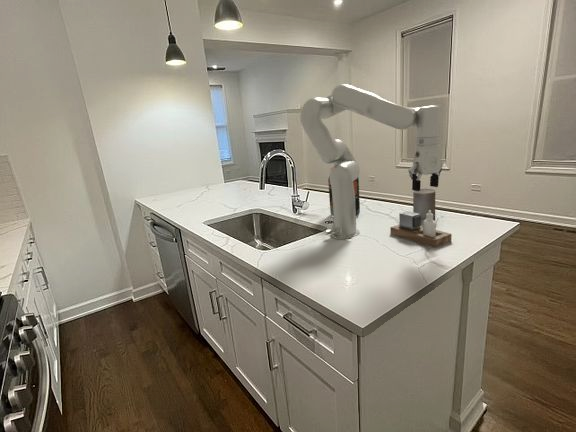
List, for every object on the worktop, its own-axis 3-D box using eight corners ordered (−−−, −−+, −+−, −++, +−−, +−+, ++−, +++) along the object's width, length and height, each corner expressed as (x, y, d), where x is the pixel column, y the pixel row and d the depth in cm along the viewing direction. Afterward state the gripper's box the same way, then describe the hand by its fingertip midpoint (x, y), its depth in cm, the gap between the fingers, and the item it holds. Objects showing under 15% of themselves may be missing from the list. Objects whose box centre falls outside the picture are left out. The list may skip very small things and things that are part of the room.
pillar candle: (430, 215, 156) (430, 185, 152) (438, 220, 146) (439, 188, 142) (410, 217, 156) (409, 187, 152) (417, 222, 147) (417, 191, 143)
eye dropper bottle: (435, 238, 123) (436, 208, 120) (435, 243, 118) (436, 212, 115) (422, 237, 125) (423, 208, 122) (422, 242, 120) (423, 212, 117)
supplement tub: (338, 210, 181) (336, 164, 174) (364, 212, 172) (363, 164, 165) (325, 217, 169) (321, 169, 162) (352, 220, 159) (350, 169, 153)
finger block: (413, 238, 125) (414, 216, 123) (399, 234, 132) (399, 213, 129) (421, 235, 127) (422, 214, 125) (407, 231, 134) (407, 211, 131)
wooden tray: (434, 250, 115) (434, 240, 114) (390, 236, 133) (390, 227, 132) (451, 243, 119) (451, 233, 118) (406, 231, 137) (406, 222, 136)
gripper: (419, 144, 107) (417, 193, 112) (452, 139, 115) (449, 186, 119) (401, 144, 114) (400, 190, 118) (434, 139, 121) (432, 183, 126)
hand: (425, 188), depth 119 cm, fingers open, 9 cm apart
